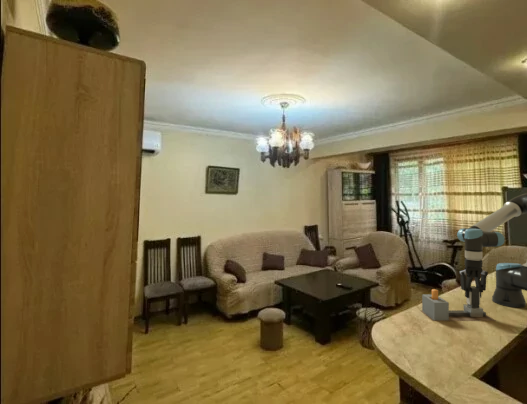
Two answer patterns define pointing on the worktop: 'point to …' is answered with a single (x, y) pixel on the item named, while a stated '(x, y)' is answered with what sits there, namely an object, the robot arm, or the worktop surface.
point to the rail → (461, 313)
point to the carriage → (474, 303)
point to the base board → (465, 318)
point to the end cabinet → (435, 307)
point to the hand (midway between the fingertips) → (473, 303)
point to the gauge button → (434, 294)
